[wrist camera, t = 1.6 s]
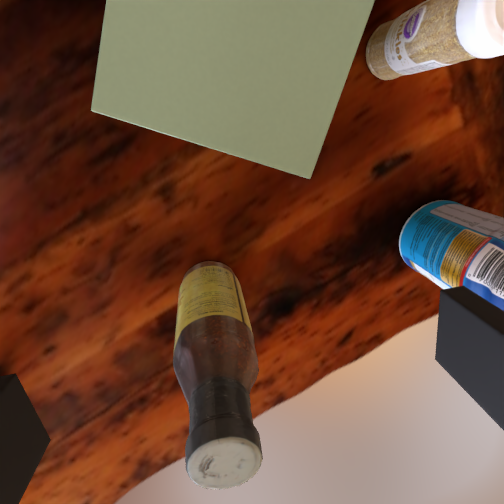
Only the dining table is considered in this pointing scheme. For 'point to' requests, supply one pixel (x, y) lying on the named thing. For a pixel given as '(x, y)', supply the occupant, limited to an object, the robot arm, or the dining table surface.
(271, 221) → the dining table surface
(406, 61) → the spice jar
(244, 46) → the cabinet
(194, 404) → the sauce bottle
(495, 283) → the beverage bottle
